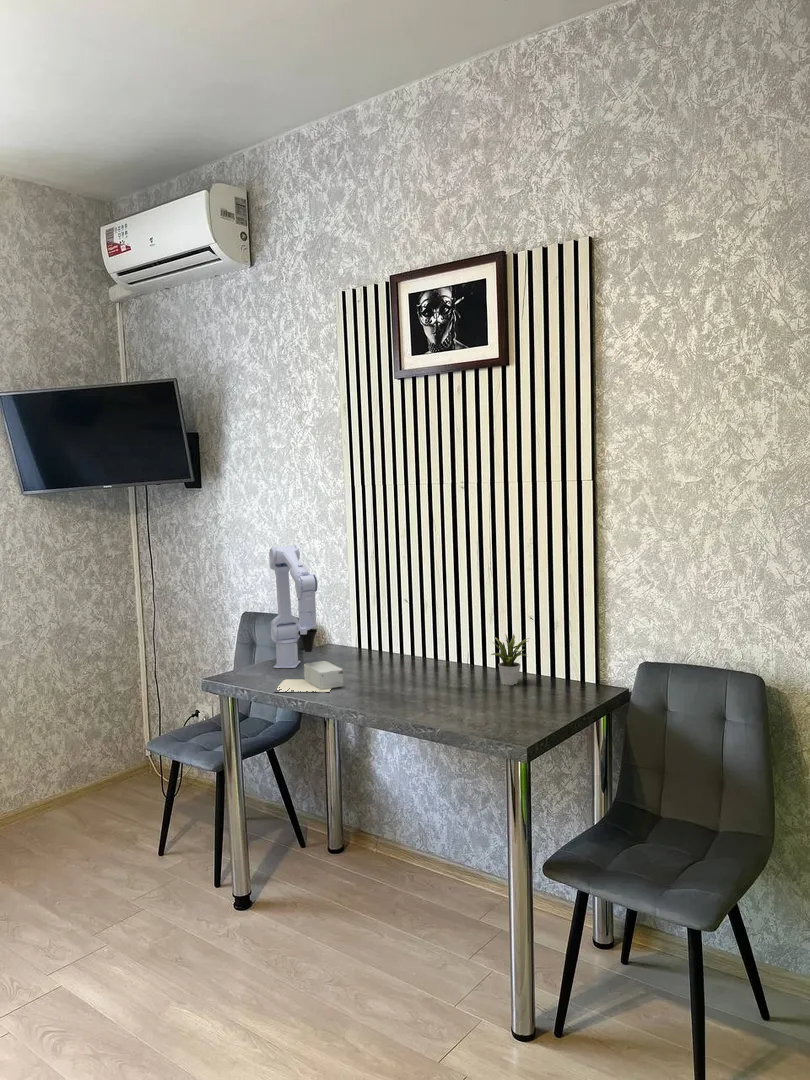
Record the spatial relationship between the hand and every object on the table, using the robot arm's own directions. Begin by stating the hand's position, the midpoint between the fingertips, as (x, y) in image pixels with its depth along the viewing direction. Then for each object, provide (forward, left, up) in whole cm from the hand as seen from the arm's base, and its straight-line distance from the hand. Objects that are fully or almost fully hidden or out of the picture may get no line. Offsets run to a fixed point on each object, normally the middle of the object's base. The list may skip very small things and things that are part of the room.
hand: (308, 651), depth 265 cm
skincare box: (-3, +2, -7) cm, 8 cm away
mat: (+6, 0, -10) cm, 12 cm away
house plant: (+3, +67, -11) cm, 68 cm away
